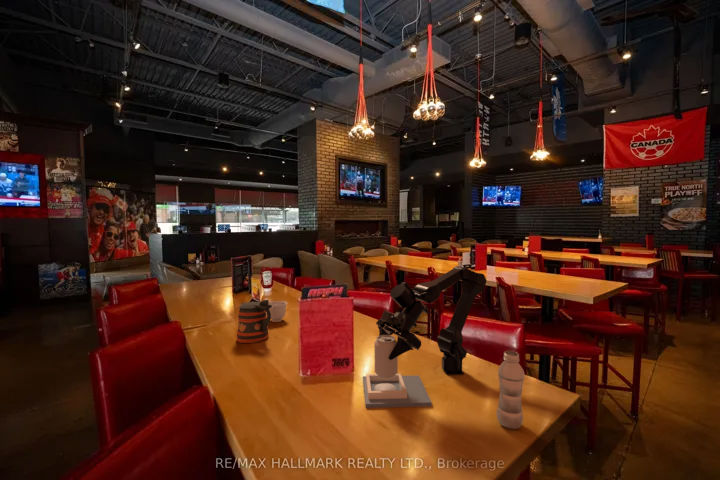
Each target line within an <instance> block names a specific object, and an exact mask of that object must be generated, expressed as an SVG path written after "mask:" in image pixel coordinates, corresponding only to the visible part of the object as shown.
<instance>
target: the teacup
mask: <svg viewBox="0 0 720 480" xmlns="http://www.w3.org/2000/svg"><path fill="white" fill-rule="evenodd" d="M268 302H269V305H272V308H269V310H270V313H271V319H270V320H271V322H273V323H280V322H282V321H283V318H284V317H285V315H286V309H287V305H288V302H287V301H285V300H274V301H273V300H271V301H268Z"/></svg>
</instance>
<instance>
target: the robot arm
mask: <svg viewBox="0 0 720 480" xmlns="http://www.w3.org/2000/svg"><path fill="white" fill-rule="evenodd" d="M459 281H461V284H460V286H461V295H459V299H458V301H457V304H456V307H455V309H454V311H453V314H452V317H451V319H450V320H449V321H450V322H449V324H448V326H447V327H445V328H443V327H441V329H440V330H439V334H438V336H437V337H436V338H437V342H436V344H437V345H438V349H439V352H440V353H443V354H442V355H443V356H442V357H441V369H442V370H443V371H444V374H446V375H447V376H449V375H450V376H451V375H464V374H465V373H464V371H463V360H464V359H465V358H466V357H467V353H468V351H467V349H465V347H463V343H464V338H463V337H464V336H463V329H464V327H465V324H466V322H467V318H468V317H469V313H470V311H471V308H472V306H473V305H474V301H475V298H476V297H477V296H478V295H479V294H481V293H482V292H483V290H484V288H485V287H486V284H487V278H486V276H485V274H483V273H482V272H481V273H480V272H476V271H474V270H470V269H469V268H467V267H464V266H458V265H457V266H454V267H453V268H452V269H450V270H449V271H447V272H445V273H444V274H442V275H440V276H438V277H437V278H435V279H433V280H430V281H425V282H421V283H418V284H417V285H415V286H414V287H412V288H411V287H410V286H409V284H408V283H407V282H404V281H402V282H401V283H399V284H398V285H395V286H394V287H393V288H392V289H391V291H390V294H389V295H390V297H391V298H392V300H394V302H396V304H397V305H398V306H399V307H401V309H402V308H403V309H402V311H396V312H395V313H393V312H391V311H388V310H385V309H384V310H383V313H382V315H381V318H379V319H378V320H377V321H376V323H375V324H376V325H377V329H378V331H379V334H378V336H380V335H390V336H393V335H394V336H396V337H397V338H396V339H397V340H396V341H397V344H396V346H395V347H394V349H393V350H392V352H391V354H390V356H389V359H390V360H392V359H394V358H396V357H397V356H398V357H400V356H401V355H403V354H405V353H406V352H410V351H411V350H412V351H413V350H414V349H415V350H417V351H419V350H420V348H421V346H422V341H421V339H420V338H419V337H418V336H416V334H415V333H414V332H412V331H411V330H412V329H413V327H414V328H417V327H418V324H417V321H418V320H419V318H420V317H421V315H422V314H423V313H424V314H429V308H428V305H426V304H423V303H424V302H425V303H427V304H432V303H434V302H435V301H436V300H438V298H440V296H441V293H442V292H443V291H445V290H447V289H448V288H450V287H451V286H453V285H455V284H456V283H458V282H459ZM422 302H423V303H422Z"/></svg>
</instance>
